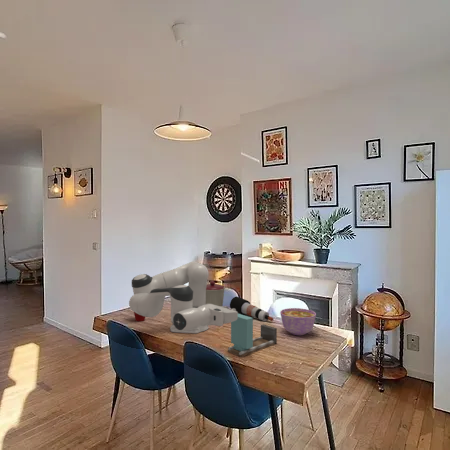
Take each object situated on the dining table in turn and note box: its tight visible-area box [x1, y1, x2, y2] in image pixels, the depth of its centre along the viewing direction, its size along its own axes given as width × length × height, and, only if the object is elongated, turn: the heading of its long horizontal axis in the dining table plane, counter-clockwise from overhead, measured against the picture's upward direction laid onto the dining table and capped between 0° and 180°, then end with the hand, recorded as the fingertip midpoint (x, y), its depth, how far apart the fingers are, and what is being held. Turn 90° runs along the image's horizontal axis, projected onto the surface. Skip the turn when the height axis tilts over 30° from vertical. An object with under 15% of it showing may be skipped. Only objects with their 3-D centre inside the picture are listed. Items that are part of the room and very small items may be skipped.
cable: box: [229, 296, 274, 322], centre depth 221 cm, size 10×34×10 cm, turn 41°
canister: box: [206, 280, 226, 307], centre depth 237 cm, size 18×18×21 cm
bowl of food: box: [279, 307, 317, 336], centre depth 190 cm, size 20×20×12 cm
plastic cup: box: [133, 311, 146, 322], centre depth 214 cm, size 11×11×12 cm
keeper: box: [230, 313, 254, 351], centre depth 163 cm, size 5×11×16 cm, turn 42°
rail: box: [227, 324, 278, 358], centre depth 169 cm, size 26×9×8 cm, turn 132°
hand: (231, 309), depth 158 cm, fingers open, 4 cm apart
